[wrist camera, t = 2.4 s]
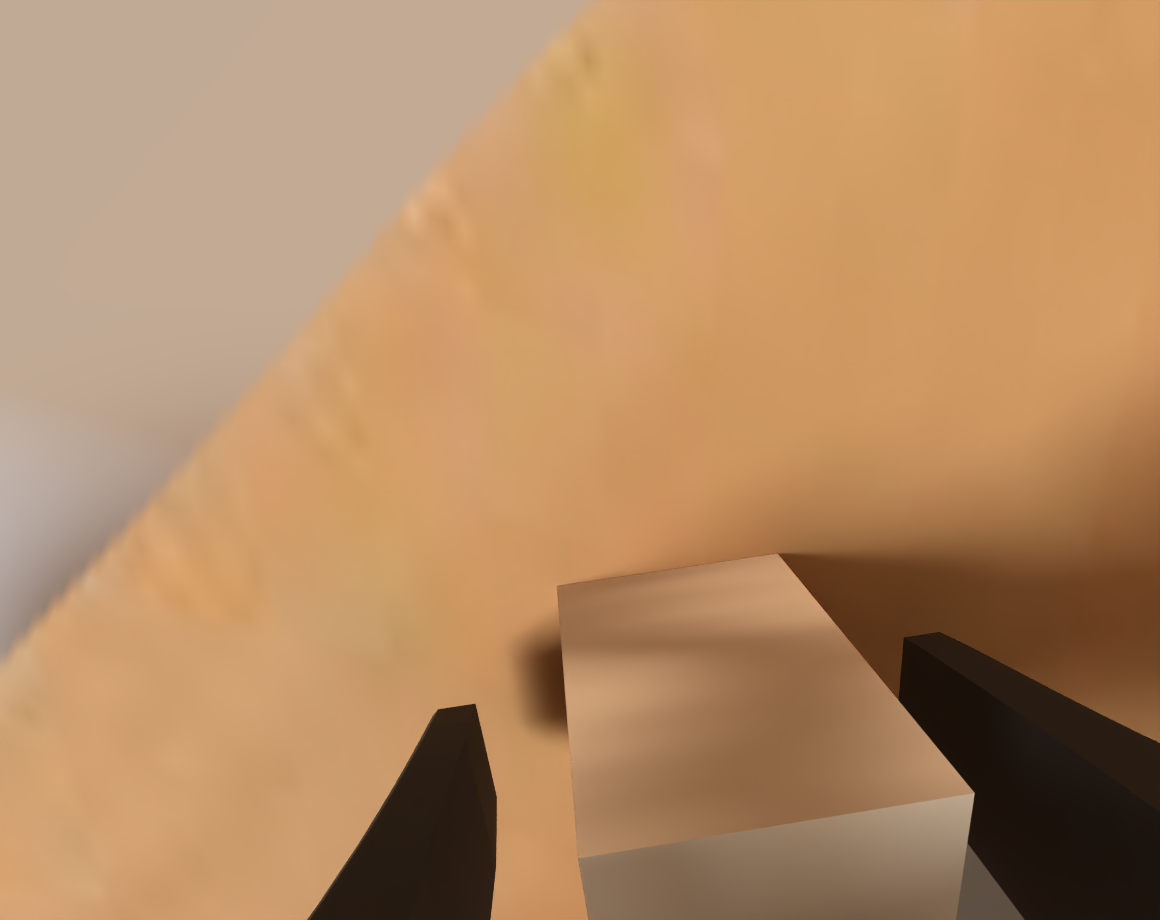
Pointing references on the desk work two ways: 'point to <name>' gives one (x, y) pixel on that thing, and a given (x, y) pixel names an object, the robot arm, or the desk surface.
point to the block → (747, 757)
